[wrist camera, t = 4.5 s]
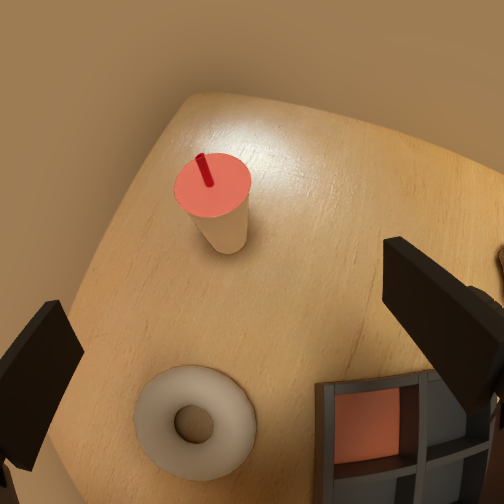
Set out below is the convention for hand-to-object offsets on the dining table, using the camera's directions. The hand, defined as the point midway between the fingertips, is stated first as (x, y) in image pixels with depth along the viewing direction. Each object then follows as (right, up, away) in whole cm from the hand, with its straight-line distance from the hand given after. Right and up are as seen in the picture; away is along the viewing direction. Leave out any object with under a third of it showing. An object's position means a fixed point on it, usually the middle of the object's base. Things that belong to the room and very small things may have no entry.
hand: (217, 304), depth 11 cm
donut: (-3, -12, +12) cm, 17 cm away
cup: (-1, +3, +18) cm, 18 cm away
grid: (+14, -16, +9) cm, 23 cm away
